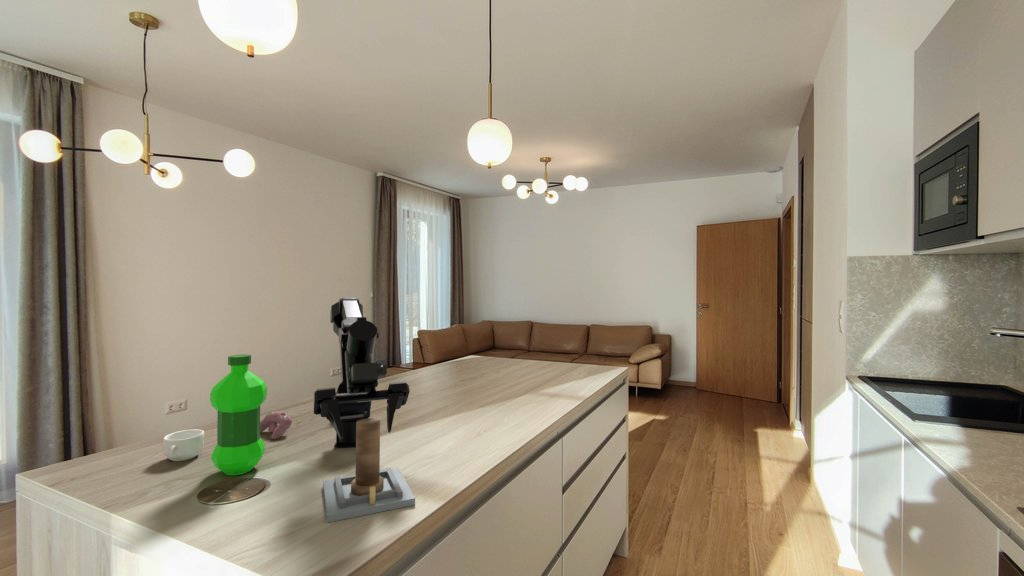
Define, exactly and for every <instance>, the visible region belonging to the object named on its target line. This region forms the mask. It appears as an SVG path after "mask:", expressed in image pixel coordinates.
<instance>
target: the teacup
mask: <svg viewBox="0 0 1024 576" xmlns="http://www.w3.org/2000/svg"><path fill="white" fill-rule="evenodd" d="M204 443H205V430H203V429H195V428H194V429H183V430H178V431H175V432H172V433H167V435H165V436H164V437H163V440H162V445H163V452H164V456H165V457H167V459H168V460H170V461H172V462H183V461H189V460H191V459H193V458H195V457H196V456H198V455H199V454H200V453H201V452H202V450H203V448H204V446H205V445H204Z"/></svg>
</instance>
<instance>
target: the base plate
mask: <svg viewBox="0 0 1024 576" xmlns="http://www.w3.org/2000/svg"><path fill="white" fill-rule="evenodd" d="M379 476H382V477H383V479H384V488H383V490H382V491H381V492H378V493H375V487H374V486H372V487H370V494H367V495H362V496H356V495H353V494H352V493H351V482H352V480H354V479H355V478H356V473H355V474H350V475H345V476H340V475H339V476H334V478H332V479H327V480H322V481H323V482H322V483H323V484H322V485H323V486H322V487H323V495H324V496H323V497H324V505H325V512H326V521H327V523H332V522H337V521H342V520H348V519H352V518H357V517H361V516H367V515H372V514H376V513H381V512H386V511H391V510H395V509H401V508H406V507H409V506H415V505H416V497H415V495H414V494H413V492H412V490H411V488H410V486H409V484H408V483H407V480H406V479H405V477H404V475H403V473H402V471H401V470H400V468H399V467H398V468H393V469H392V468H391V467H388V468H385V469H381V470H380V472H379Z"/></svg>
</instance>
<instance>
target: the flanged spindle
mask: <svg viewBox="0 0 1024 576" xmlns="http://www.w3.org/2000/svg"><path fill="white" fill-rule="evenodd" d="M380 450H381V420H380V419H378V418H373V417H372V418H370V417H369V418H368V419H362V420H359V421H357V422H356V447H355V474H356V478H355V479H354V480H352V482H351V493H352V494H353V495H356V496H362V495H367V494H370V487H372V486H374V487H375V493H378V492H381V491H382V490H383V488H384V479H383V477H382V476H379V472H380V466H381V464H380V460H381V457H380V456H381V455H380V454H381V451H380Z"/></svg>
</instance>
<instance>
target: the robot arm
mask: <svg viewBox="0 0 1024 576" xmlns="http://www.w3.org/2000/svg"><path fill="white" fill-rule="evenodd" d="M329 316H330V317H329V321H330V324H332V330H333V332H334V333H335V335H336V336H337V337H338V344H339V354H340V355H339V357H340V374H341V375H340V377H341V378H340V379H341V381H340V382H341V383H339V385H338V387H337V390H336V387H327V388H317V389H316V390H315V391H314V393H313V414H314V415H316V416H317V415H320V418H326V419H327V420H328V421H329V423H330V424H331V426H332V427H333V429H334V431H335V433H336V434H335V435H336V436H335V444H334V445H333V447H334V448H347V447H348V448H352V447H353V448H356V422H357V421H359V420H362V419H368V418H370V417H371V409H372V402H373V401H374V402H375V401H382V400H383V401H384V400H386V404H387V406H386V428H387V432H388V433H389V434H391V432H392V427H393V424H394V423H393V422H394V416H395V413H396V410H400V409H401V408H402V406H405V405H407V402H408V399H409V395H410V392H411V391H410V386H409V383H408V382H406V381H398V382H388V383H389V384H388V388H387V389H383V390H377V388H378V387H379V385H378V384H379V381H378V380H379V377H386V375H387V374H388V369H387V361H386V359H377V360H376V361H375V362H374V361H373V353H374V350H375V346H376V342H377V339H379V332H378V327H377V326H376V325H375V324H374V323H373V322H372V321H370V320H369V319H367V316H364V307H363V304H362V303H360V299H359V298H357V297H341V298H339V299H338V301H337V302H336V303H334V304H332V305H331V306H330V315H329ZM336 392H337V394H336Z"/></svg>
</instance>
